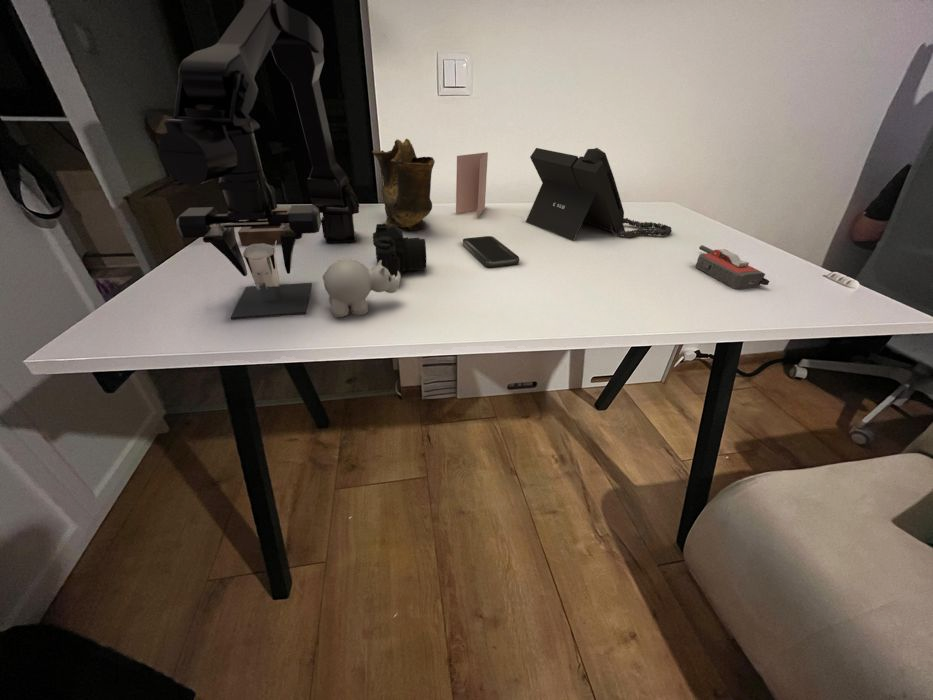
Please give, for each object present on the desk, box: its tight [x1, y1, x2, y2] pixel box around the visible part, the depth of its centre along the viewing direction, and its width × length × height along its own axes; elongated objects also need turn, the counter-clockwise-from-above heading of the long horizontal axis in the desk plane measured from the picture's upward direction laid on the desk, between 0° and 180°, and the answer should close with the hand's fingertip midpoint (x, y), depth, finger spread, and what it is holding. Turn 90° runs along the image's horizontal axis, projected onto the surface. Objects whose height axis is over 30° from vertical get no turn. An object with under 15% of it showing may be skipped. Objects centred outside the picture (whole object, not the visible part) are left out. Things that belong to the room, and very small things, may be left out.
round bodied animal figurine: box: [322, 258, 402, 318], centre depth 64 cm, size 7×12×8 cm, turn 109°
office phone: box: [525, 147, 672, 242], centre depth 102 cm, size 29×28×20 cm
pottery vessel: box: [372, 137, 436, 232], centre depth 97 cm, size 25×11×20 cm, turn 24°
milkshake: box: [242, 240, 282, 302], centre depth 64 cm, size 4×5×10 cm
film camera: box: [372, 223, 427, 277], centre depth 77 cm, size 15×10×9 cm, turn 9°
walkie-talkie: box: [695, 245, 770, 290], centre depth 84 cm, size 9×4×20 cm
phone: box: [462, 235, 520, 268], centre depth 88 cm, size 8×1×15 cm
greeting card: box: [455, 152, 489, 219], centre depth 110 cm, size 11×7×15 cm, turn 133°
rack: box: [237, 207, 291, 246], centre depth 95 cm, size 10×18×3 cm, turn 13°
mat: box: [229, 282, 313, 320], centre depth 67 cm, size 11×11×1 cm
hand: (267, 273), depth 65 cm, fingers open, 6 cm apart
